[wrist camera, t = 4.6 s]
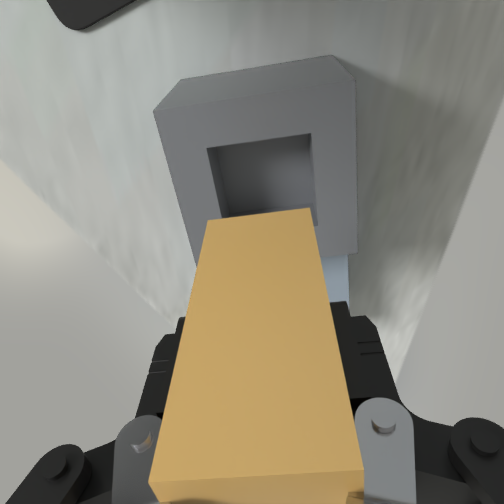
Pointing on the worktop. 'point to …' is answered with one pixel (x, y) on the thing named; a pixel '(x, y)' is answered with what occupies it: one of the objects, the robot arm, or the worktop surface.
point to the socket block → (268, 152)
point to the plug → (258, 376)
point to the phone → (85, 11)
